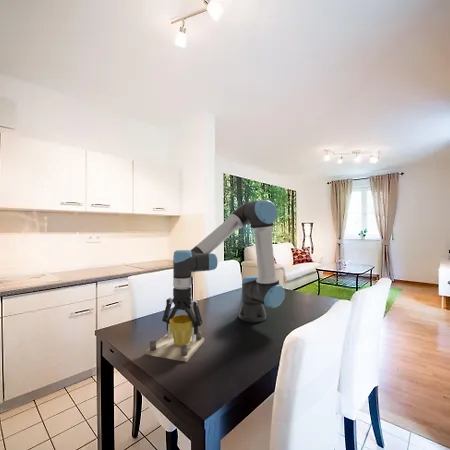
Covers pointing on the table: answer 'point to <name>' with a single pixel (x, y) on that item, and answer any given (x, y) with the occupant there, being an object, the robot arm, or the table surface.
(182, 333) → the plant pot
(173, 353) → the stub plate
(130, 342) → the table surface
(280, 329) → the table surface
